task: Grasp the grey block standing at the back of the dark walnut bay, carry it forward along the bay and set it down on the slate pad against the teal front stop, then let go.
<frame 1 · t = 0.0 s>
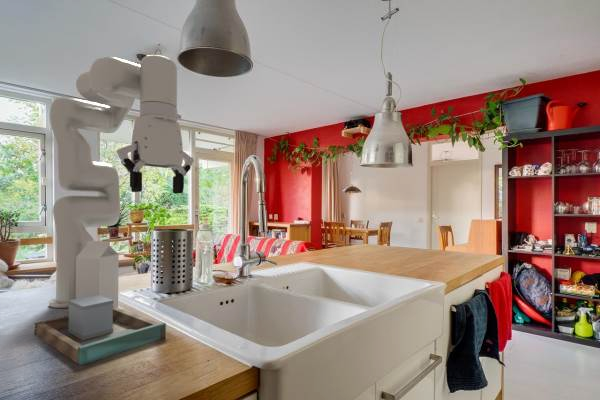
hand: (158, 192, 75), 31 cm above the counter, tool pointing down, fingers open, 9 cm apart
milk carton: (97, 312, 92), on the counter
bay: (99, 335, 74), on the counter
grey block: (90, 331, 77), resting in bay
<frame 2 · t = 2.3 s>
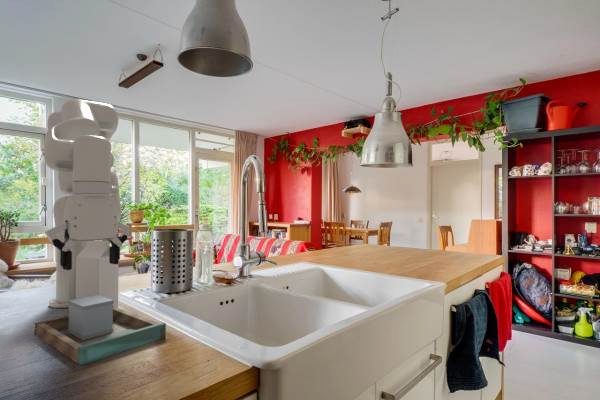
hand: (91, 266, 77), 15 cm above the counter, tool pointing down, fingers open, 9 cm apart
nothing on the counter moved.
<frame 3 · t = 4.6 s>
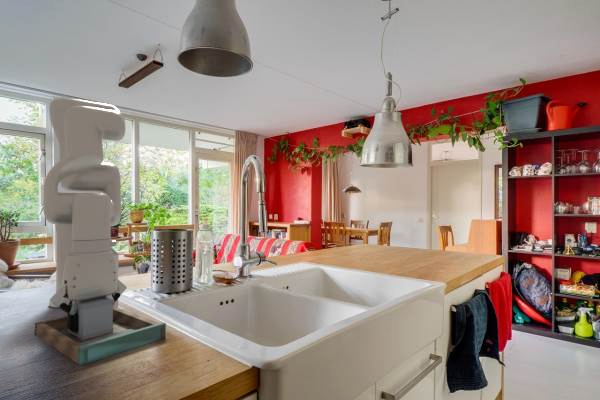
hand: (90, 326, 77), 1 cm above the counter, tool pointing down, fingers closed on grey block, 6 cm apart
grey block: (90, 331, 77), resting in bay, touching gripper
everything else where it was.
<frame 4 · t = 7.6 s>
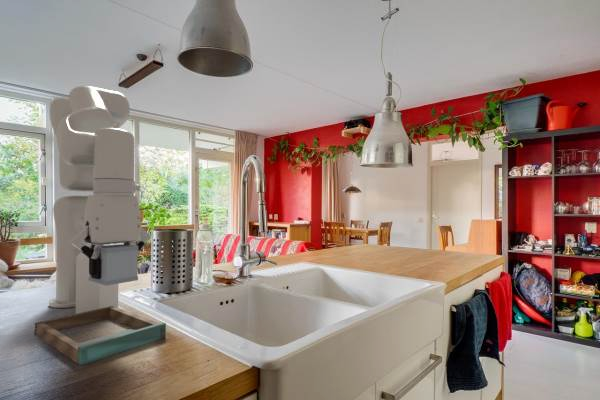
hand: (113, 274, 71), 14 cm above the counter, tool pointing down, fingers closed on grey block, 6 cm apart
grey block: (113, 280, 71), point 13 cm above the counter, touching gripper
everything else where it was.
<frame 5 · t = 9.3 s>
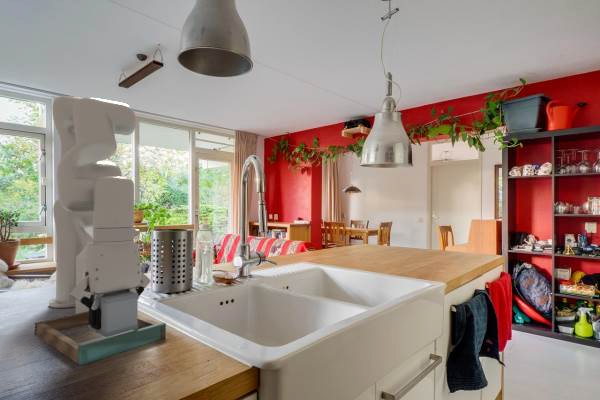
hand: (113, 322, 71), 4 cm above the counter, tool pointing down, fingers closed on grey block, 6 cm apart
grey block: (113, 328, 71), point 3 cm above the counter, touching gripper
everything else where it was.
when the fingers open (3 cm above the counter, at t = 10.5 s): grey block drops 1 cm, resting on bay.
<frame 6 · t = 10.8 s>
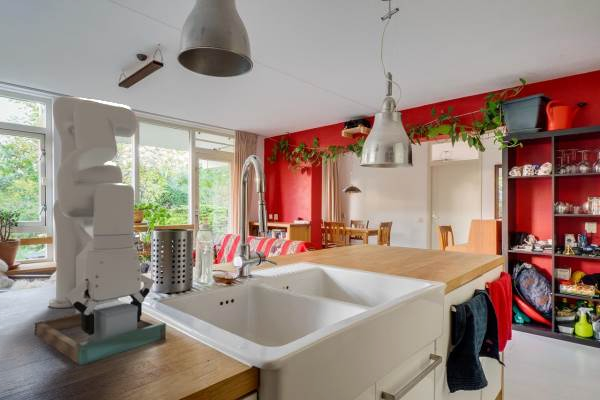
hand: (113, 326, 71), 3 cm above the counter, tool pointing down, fingers open, 8 cm apart
grey block: (112, 341, 71), resting on bay
everything else where it was.
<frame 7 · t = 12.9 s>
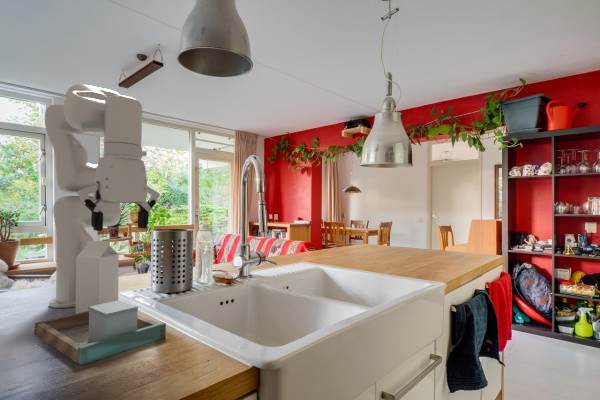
hand: (121, 229, 77), 23 cm above the counter, tool pointing down, fingers open, 9 cm apart
nothing on the counter moved.
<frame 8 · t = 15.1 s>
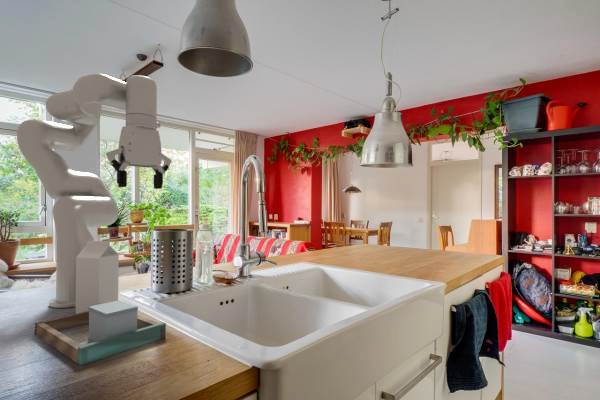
hand: (140, 187, 91), 33 cm above the counter, tool pointing down, fingers open, 9 cm apart
nothing on the counter moved.
at the end: grey block 0.1 cm from the target spot, resting on bay; grey block tilted 0°; the gripper is holding nothing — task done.
